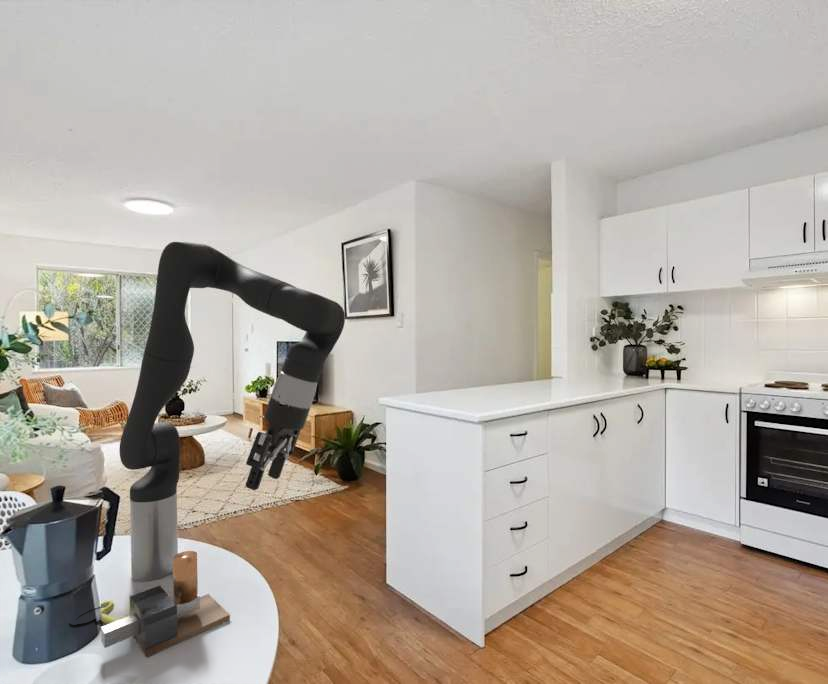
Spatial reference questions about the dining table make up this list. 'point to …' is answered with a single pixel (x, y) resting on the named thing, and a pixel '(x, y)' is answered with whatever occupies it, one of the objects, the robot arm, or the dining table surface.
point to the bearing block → (154, 616)
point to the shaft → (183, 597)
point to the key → (105, 610)
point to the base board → (193, 624)
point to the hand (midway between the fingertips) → (262, 482)
